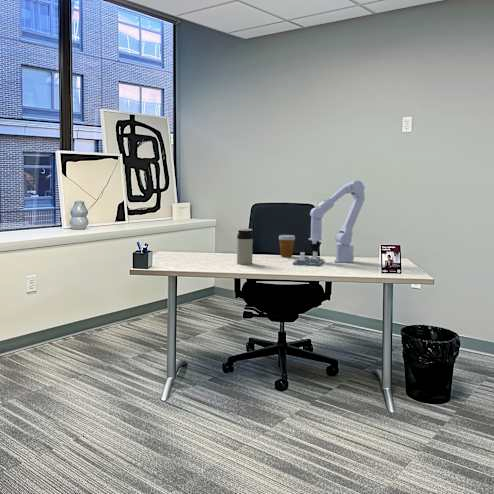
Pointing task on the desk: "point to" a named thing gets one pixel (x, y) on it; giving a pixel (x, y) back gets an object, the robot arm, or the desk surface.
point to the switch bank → (308, 261)
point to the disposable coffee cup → (286, 245)
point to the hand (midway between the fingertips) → (315, 255)
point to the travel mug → (244, 246)
